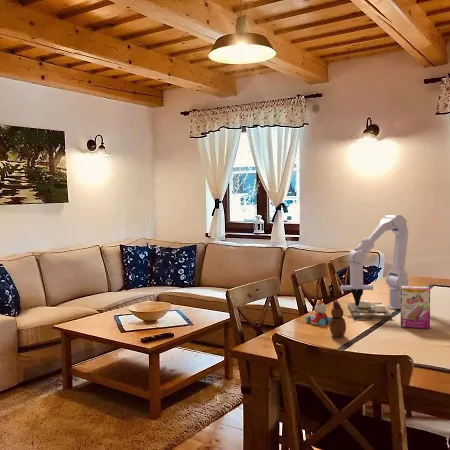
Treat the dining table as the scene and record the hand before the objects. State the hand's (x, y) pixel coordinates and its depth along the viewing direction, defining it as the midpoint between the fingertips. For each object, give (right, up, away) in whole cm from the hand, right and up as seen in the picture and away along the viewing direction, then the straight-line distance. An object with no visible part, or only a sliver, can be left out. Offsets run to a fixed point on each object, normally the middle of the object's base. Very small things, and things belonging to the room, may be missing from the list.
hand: (357, 305), depth 226 cm
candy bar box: (+16, -4, -28) cm, 33 cm away
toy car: (-21, -5, -17) cm, 27 cm away
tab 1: (+3, 0, 0) cm, 3 cm away
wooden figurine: (-17, -6, -37) cm, 41 cm away
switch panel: (+4, -3, -3) cm, 6 cm away
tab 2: (+7, -1, -9) cm, 12 cm away
